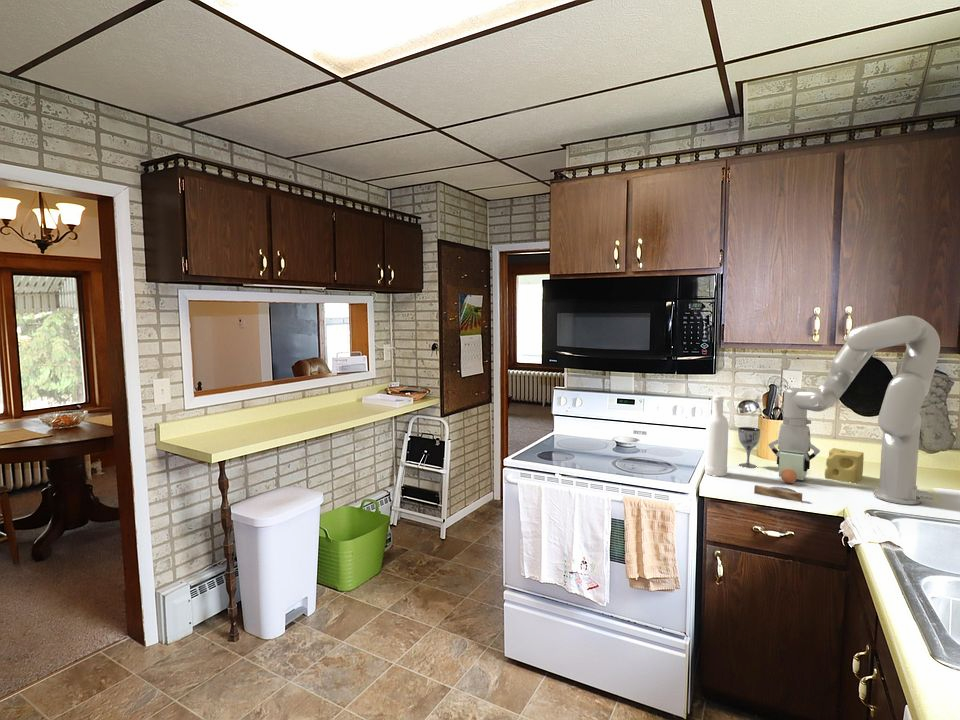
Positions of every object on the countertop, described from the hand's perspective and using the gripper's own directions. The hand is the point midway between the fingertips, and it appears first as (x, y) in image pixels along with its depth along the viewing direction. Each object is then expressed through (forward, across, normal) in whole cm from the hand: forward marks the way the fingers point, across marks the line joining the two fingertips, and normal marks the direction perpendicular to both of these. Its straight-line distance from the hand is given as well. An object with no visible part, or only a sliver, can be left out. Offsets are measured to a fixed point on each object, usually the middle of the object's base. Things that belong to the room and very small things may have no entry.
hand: (792, 468), depth 203 cm
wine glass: (+4, +17, -8) cm, 19 cm away
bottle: (+4, +24, +11) cm, 27 cm away
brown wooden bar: (+4, 0, +26) cm, 26 cm away
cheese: (+4, -15, -13) cm, 20 cm away
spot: (+4, 0, +19) cm, 19 cm away
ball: (+1, 0, +7) cm, 7 cm away
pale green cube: (+3, 0, 0) cm, 3 cm away
